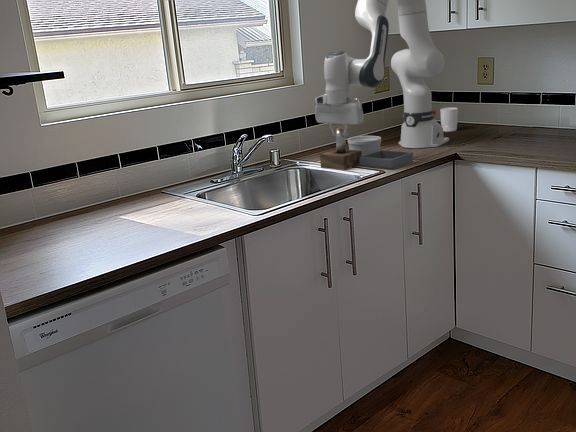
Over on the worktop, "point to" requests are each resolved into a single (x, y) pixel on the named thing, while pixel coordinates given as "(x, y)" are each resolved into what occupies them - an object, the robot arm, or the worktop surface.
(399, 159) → the slate tray
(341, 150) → the steel pin
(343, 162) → the walnut pin block
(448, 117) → the white cup
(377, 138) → the ramekin
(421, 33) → the robot arm
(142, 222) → the worktop surface
